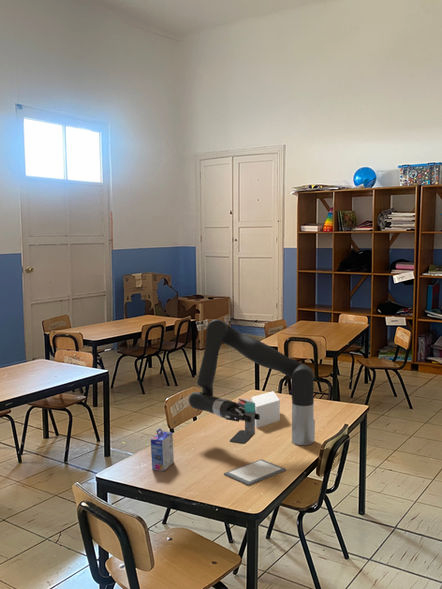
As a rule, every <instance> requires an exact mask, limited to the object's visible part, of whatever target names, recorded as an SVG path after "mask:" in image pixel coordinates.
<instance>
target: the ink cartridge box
mask: <svg viewBox="0 0 442 589" xmlns="http://www.w3.org/2000/svg"><path fill="white" fill-rule="evenodd" d="M155 431H156V432H155V433H156V435H154V436H153V437H152V438H151V439H150V450H151V451H150V452H151V454H150V455H151V468H152V470H153V471H154V470H155V471H160V472H164V471H165V470H166V469H168V467H170V466H171V465H172V464H173V463H174V462H175V461H174V458H175V457H174V456H175V455H174V454H175V453H174V437H173V436H174V434H173V432H171V431H163V430H162V428H158V429H157V430H155Z"/></svg>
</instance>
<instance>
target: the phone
mask: <svg viewBox="0 0 442 589" xmlns="http://www.w3.org/2000/svg"><path fill="white" fill-rule="evenodd" d="M254 435H255V434H253V435H247V434H245V429H240V430H238V431H237V433H235V435H233V436H232V437H231V439H229V443H232V444H233V443H235V444H243V445H244V444H246V443H247V442H248V441H249V440H250V439H251V438H252V437H253V436H254Z"/></svg>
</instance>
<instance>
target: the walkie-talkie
mask: <svg viewBox="0 0 442 589" xmlns="http://www.w3.org/2000/svg"><path fill="white" fill-rule="evenodd" d="M246 402H251V399H247V398H243V399H242V398H238V402H237V404H238V405H239V407H243V408H245V403H246Z"/></svg>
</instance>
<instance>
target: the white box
mask: <svg viewBox="0 0 442 589" xmlns="http://www.w3.org/2000/svg"><path fill="white" fill-rule="evenodd" d="M250 401H251V402H253V403H255V410H256V413H257V414H259V415H260V419H259V420H256V419H255V426H256V427H255V429H259V428H262V427H263V426H268V425H270V424H273V423H276V422H279V421H280V420H281V418H280V415H281V414H280V412H281V410H280V408H281V407H280V406H281V405H280V399H279V397H278V396H277V394H276V393H275V391H273V390H272V391H269V392H265V393H261V394H258V395H254V396H250Z"/></svg>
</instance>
